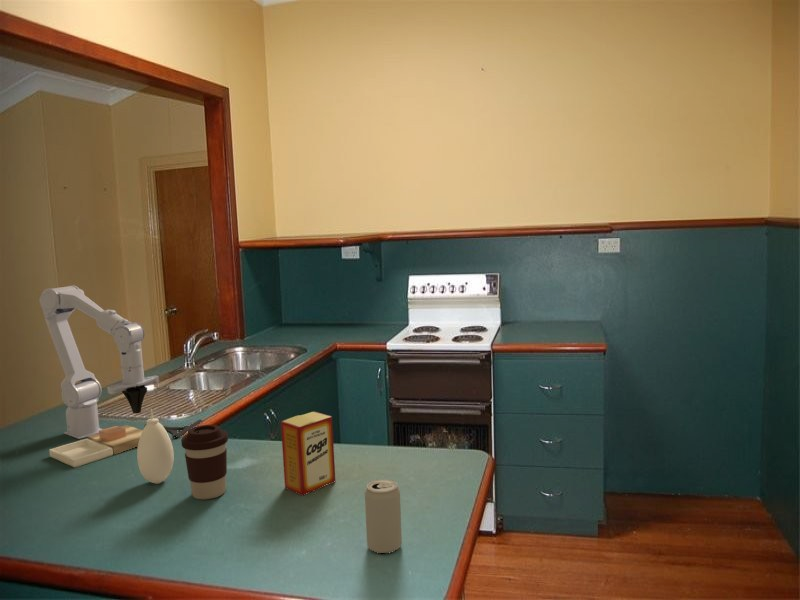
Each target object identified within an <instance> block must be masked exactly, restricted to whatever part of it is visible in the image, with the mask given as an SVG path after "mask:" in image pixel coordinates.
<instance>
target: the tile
mask: <svg viewBox="0 0 800 600" xmlns="http://www.w3.org/2000/svg"><path fill="white" fill-rule="evenodd" d="M122 427H123V426H119V425H115V426H110V427H107V428H102V429H103V430H99V437H100V439H103V440H106V441H108V442H109V441H113V440H116V439H119V438H122V437H126V430H125V428H122Z"/></svg>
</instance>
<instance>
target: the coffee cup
mask: <svg viewBox="0 0 800 600" xmlns="http://www.w3.org/2000/svg"><path fill="white" fill-rule="evenodd" d="M228 441H229V434H228V431H226V430H224V429H221V427H220V426H219V425H217V424H216V425H215V424H204V425H203V424H201V425H198V426H197V427H194V428H192V429H190V430H189V431H188V433H186V434H185V435H183V436H182V437H181V442H180V443H181V447H182V448H183V449H185V450H184V451H185V453H184V455H185V456H184V458H185V464H186V469H187V476H188V479H189V482H190V488H191V494H192V497H193V498H195V499H197V500H205V501H206V500H211V499H216V498H218V497H220V496H222V495H224V493H225V492H226V491H227V488H226V485H227V483H226V482H227V480H226V478H227V477H226V476H227V470H228V468H227V467H228V466H227V463H228V462H227V459H228V458H227V447H226V443H228Z"/></svg>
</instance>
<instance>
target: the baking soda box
mask: <svg viewBox="0 0 800 600" xmlns="http://www.w3.org/2000/svg"><path fill="white" fill-rule="evenodd" d="M280 431H281V445H282V446H281V447H282V459H283V461H282V463H283V477H284V489H286V488H288V489H290V490H289V491H291V490H292V491H291V492H293V491H294V493H295V492H297V493H296V494H298V493H299V494H298V495H300V494H301V495H300V496H302V495H303V496H305V495H304V494H306V493H308V492H311V491H313V490H315V491H317V490H316V489H318V488H320V487H322V486H324V485H326V484H329V483H331V482H334V481H335V482H336V471H335V470H336V467H335V449H334V448H335V447H334V428H333V416H331V415H329V414H324V413H320V412H318V411H311V412H308V413H305V414H301V415H299V414H298V415H295V416H293V417H290V418H286V419H284V420H282V421H280ZM335 482H334V483H335ZM329 485H330V484H329ZM322 488H323V487H322ZM288 489H287V490H288ZM320 489H321V488H320ZM318 490H319V489H318ZM313 492H314V491H313ZM311 493H312V492H311ZM308 494H309V493H308ZM306 495H307V494H306Z"/></svg>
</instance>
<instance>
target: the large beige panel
mask: <svg viewBox="0 0 800 600" xmlns="http://www.w3.org/2000/svg"><path fill="white" fill-rule="evenodd" d="M121 427H122V428H125V430H126V437H122V438H119V439H116V440H113V441H109V442H108V441H106V440H103V439H100V437H99V433H98V434H95V435H91V436H88V437H87V439H90V440H93V441H95V442H98V443H101V444H103V445H106V446H109V447H111V448H113V454H114V455H113V456H115V454H116V455H118V453H119V454H122V453H124V452H123V451H125V452H127V451H126V450H128V451H130V450H129V449H131V450H133V449H132V448H134V449H136V448H135V447H137V448H138V443H139V439H140V436H141V433H142V431H143V429H140V428H138V427H134V426H130V425H128V424H126V425H123V426H121ZM121 452H122V453H121Z"/></svg>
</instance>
